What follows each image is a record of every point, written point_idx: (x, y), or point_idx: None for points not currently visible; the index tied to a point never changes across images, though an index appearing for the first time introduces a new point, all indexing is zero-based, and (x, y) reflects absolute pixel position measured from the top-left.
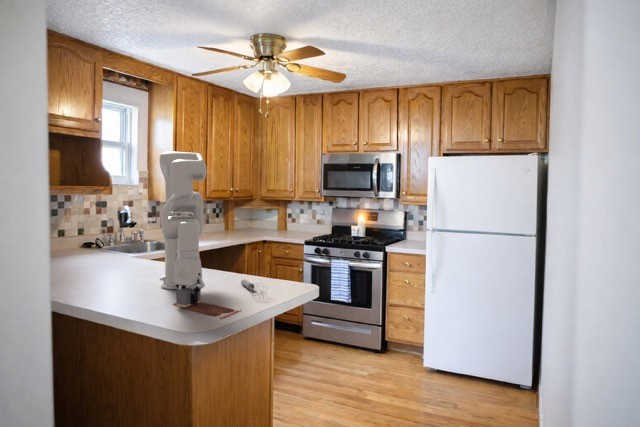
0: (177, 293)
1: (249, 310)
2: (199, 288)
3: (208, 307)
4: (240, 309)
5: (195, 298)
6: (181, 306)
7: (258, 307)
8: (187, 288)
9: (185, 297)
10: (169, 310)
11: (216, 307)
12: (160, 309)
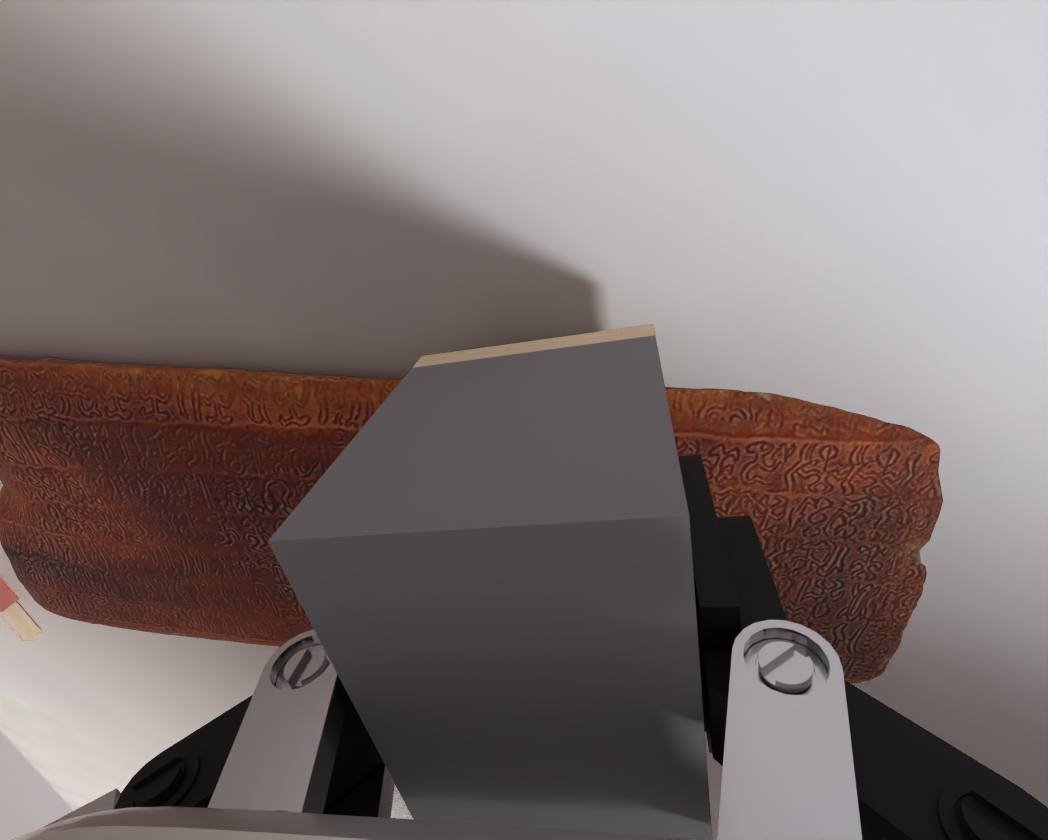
0: (621, 466)
1: (8, 660)
2: (128, 801)
3: (224, 530)
4: (25, 638)
5: None
6: None
7: (67, 736)
8: (621, 794)
9: (350, 447)
10: (653, 130)
11: (181, 575)
12: (908, 36)
